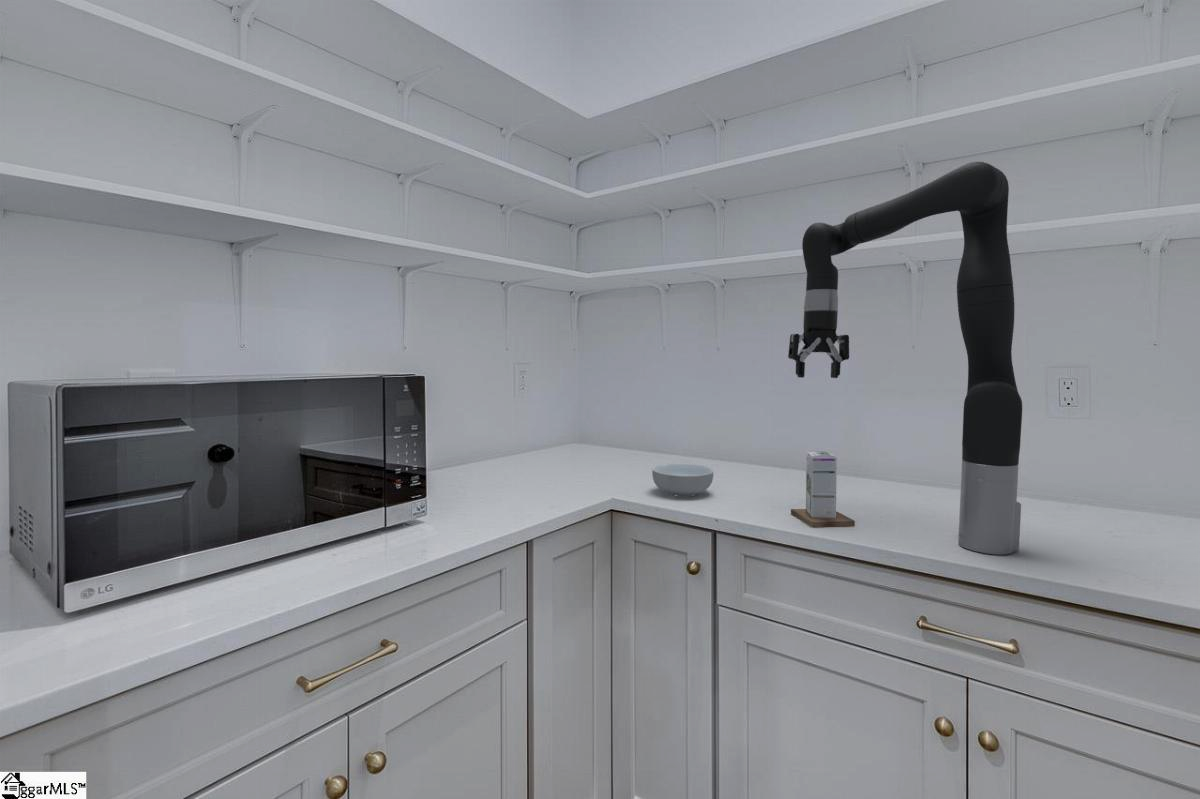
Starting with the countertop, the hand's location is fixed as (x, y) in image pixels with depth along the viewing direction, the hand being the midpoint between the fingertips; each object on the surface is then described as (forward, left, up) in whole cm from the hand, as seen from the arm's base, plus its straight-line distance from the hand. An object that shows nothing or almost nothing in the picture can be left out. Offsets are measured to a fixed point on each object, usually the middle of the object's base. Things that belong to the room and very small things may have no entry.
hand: (817, 377), depth 138 cm
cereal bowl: (+27, -22, -33) cm, 49 cm away
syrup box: (+2, +7, -32) cm, 33 cm away
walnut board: (+1, +7, -33) cm, 34 cm away
